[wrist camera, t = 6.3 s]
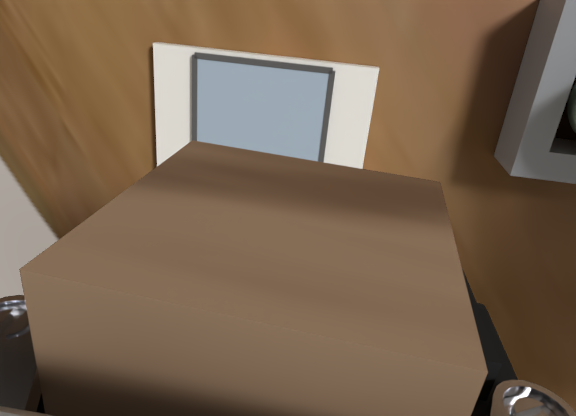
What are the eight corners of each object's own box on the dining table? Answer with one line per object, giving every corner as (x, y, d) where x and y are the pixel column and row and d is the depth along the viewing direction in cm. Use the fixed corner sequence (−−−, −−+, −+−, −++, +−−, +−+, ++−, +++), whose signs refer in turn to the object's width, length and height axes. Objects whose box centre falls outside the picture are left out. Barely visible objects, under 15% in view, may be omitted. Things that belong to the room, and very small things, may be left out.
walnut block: (192, 140, 11) (18, 269, 6) (440, 181, 10) (488, 372, 5) (189, 329, 13) (66, 534, 8) (388, 374, 12) (386, 630, 7)
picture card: (157, 42, 25) (151, 43, 25) (378, 66, 24) (379, 69, 24) (164, 285, 32) (159, 292, 31) (337, 311, 31) (336, 319, 31)
